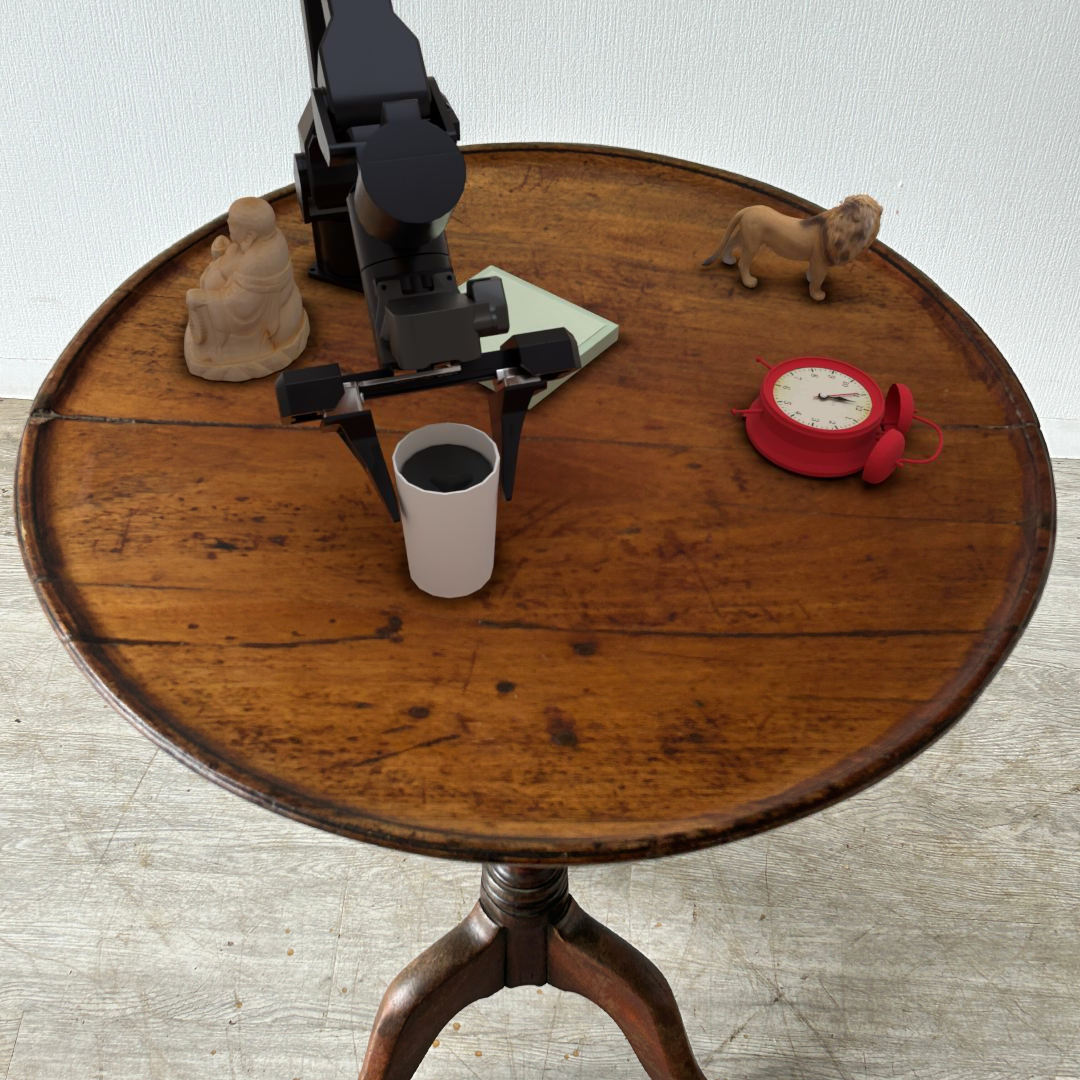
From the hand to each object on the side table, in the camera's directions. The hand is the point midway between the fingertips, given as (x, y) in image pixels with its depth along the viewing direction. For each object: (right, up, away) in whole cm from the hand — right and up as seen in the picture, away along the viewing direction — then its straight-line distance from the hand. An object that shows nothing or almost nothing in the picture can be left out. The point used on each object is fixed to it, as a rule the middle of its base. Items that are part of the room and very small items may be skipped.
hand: (453, 511), depth 71 cm
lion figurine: (+28, +22, +31) cm, 47 cm away
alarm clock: (+28, +6, +16) cm, 33 cm away
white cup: (-1, -4, +6) cm, 7 cm away
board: (+3, +15, +23) cm, 28 cm away
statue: (-19, +15, +23) cm, 33 cm away
